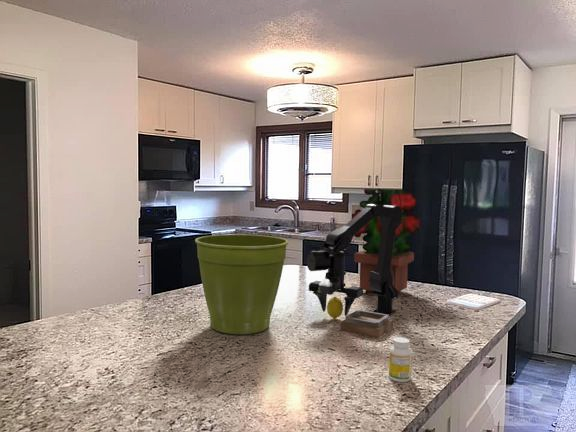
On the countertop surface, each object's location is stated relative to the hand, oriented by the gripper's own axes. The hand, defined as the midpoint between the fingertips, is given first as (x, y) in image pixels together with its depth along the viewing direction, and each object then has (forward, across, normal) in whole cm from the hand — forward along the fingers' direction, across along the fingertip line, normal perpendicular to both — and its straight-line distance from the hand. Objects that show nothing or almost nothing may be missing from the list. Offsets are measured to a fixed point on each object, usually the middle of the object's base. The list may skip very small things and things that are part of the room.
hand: (334, 313), depth 168 cm
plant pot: (+2, -21, -26) cm, 33 cm away
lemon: (+2, 0, 0) cm, 2 cm away
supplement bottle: (+2, +36, -36) cm, 51 cm away
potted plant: (+2, -1, +49) cm, 49 cm away
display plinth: (+2, +14, -4) cm, 15 cm away
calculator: (+3, +35, +55) cm, 65 cm away
